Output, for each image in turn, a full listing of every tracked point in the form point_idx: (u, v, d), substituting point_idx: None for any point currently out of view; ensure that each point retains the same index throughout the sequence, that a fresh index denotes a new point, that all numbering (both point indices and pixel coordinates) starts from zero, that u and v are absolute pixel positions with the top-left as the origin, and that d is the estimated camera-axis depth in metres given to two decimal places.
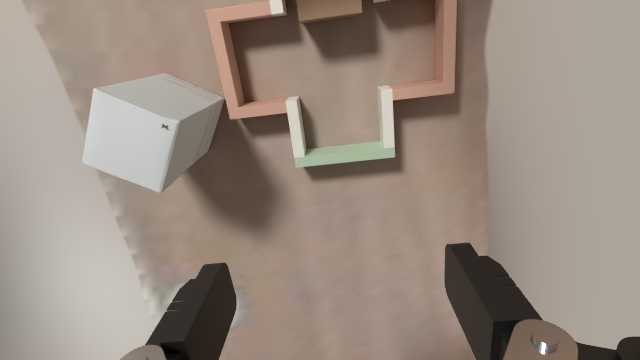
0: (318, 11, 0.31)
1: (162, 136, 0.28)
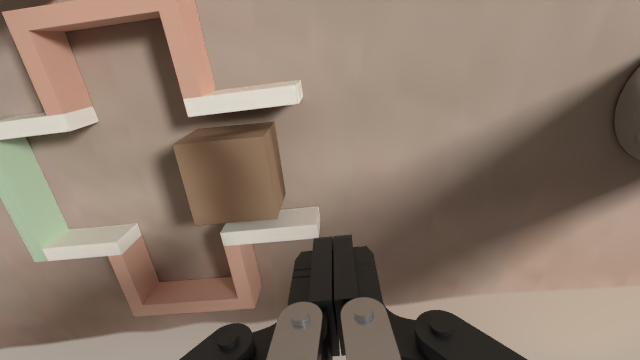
0: (188, 172, 0.22)
1: None
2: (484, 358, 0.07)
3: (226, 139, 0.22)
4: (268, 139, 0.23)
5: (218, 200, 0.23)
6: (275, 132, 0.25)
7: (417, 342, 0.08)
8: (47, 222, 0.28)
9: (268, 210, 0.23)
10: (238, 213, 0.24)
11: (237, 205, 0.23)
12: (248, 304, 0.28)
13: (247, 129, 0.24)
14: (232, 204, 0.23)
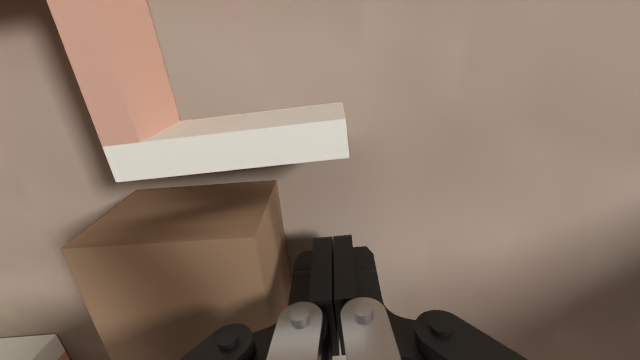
0: (98, 298, 0.11)
1: None
2: (484, 358, 0.07)
3: (176, 238, 0.10)
4: (265, 229, 0.11)
5: (165, 347, 0.12)
6: (278, 199, 0.14)
7: (417, 342, 0.08)
8: None
9: None
10: None
11: None
12: None
13: (224, 202, 0.12)
14: None
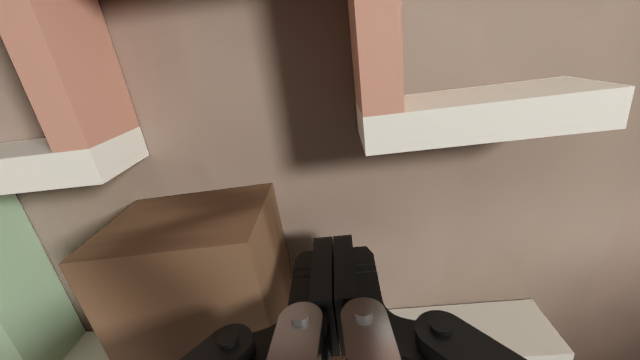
0: (99, 311, 0.11)
1: None
2: (484, 358, 0.07)
3: (170, 247, 0.10)
4: (260, 233, 0.11)
5: (168, 356, 0.12)
6: (274, 203, 0.14)
7: (417, 342, 0.08)
8: (49, 332, 0.15)
9: None
10: None
11: None
12: None
13: (220, 209, 0.12)
14: None
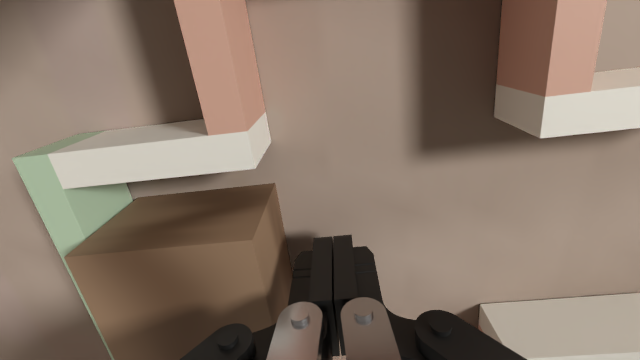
0: (103, 304, 0.11)
1: None
2: (484, 358, 0.07)
3: (176, 243, 0.10)
4: (264, 231, 0.11)
5: (169, 351, 0.12)
6: (277, 201, 0.14)
7: (417, 342, 0.08)
8: None
9: None
10: None
11: None
12: None
13: (224, 206, 0.12)
14: None
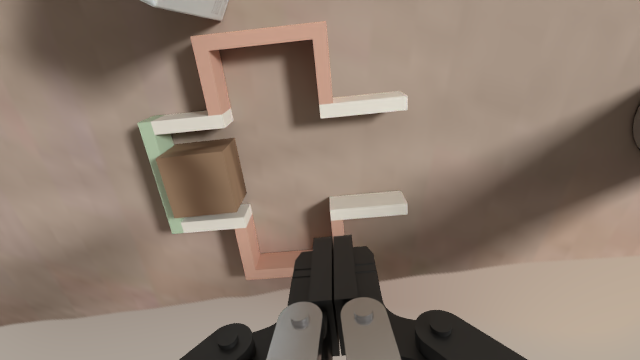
0: (167, 178, 0.30)
1: None
2: (484, 358, 0.07)
3: (195, 153, 0.29)
4: (228, 152, 0.31)
5: (191, 199, 0.31)
6: (235, 146, 0.33)
7: (417, 342, 0.08)
8: None
9: (230, 205, 0.31)
10: (207, 208, 0.31)
11: (206, 202, 0.31)
12: None
13: (212, 144, 0.31)
14: (202, 201, 0.31)
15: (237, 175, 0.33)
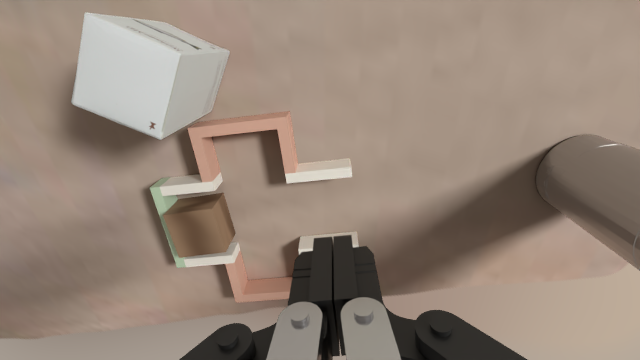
0: (172, 229, 0.40)
1: (140, 120, 0.26)
2: (484, 358, 0.07)
3: (192, 210, 0.39)
4: (217, 207, 0.40)
5: (191, 243, 0.40)
6: (224, 199, 0.43)
7: (417, 342, 0.08)
8: None
9: (220, 247, 0.40)
10: (203, 250, 0.41)
11: (202, 245, 0.40)
12: None
13: (206, 200, 0.41)
14: (199, 245, 0.40)
15: (226, 222, 0.42)
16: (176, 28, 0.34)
